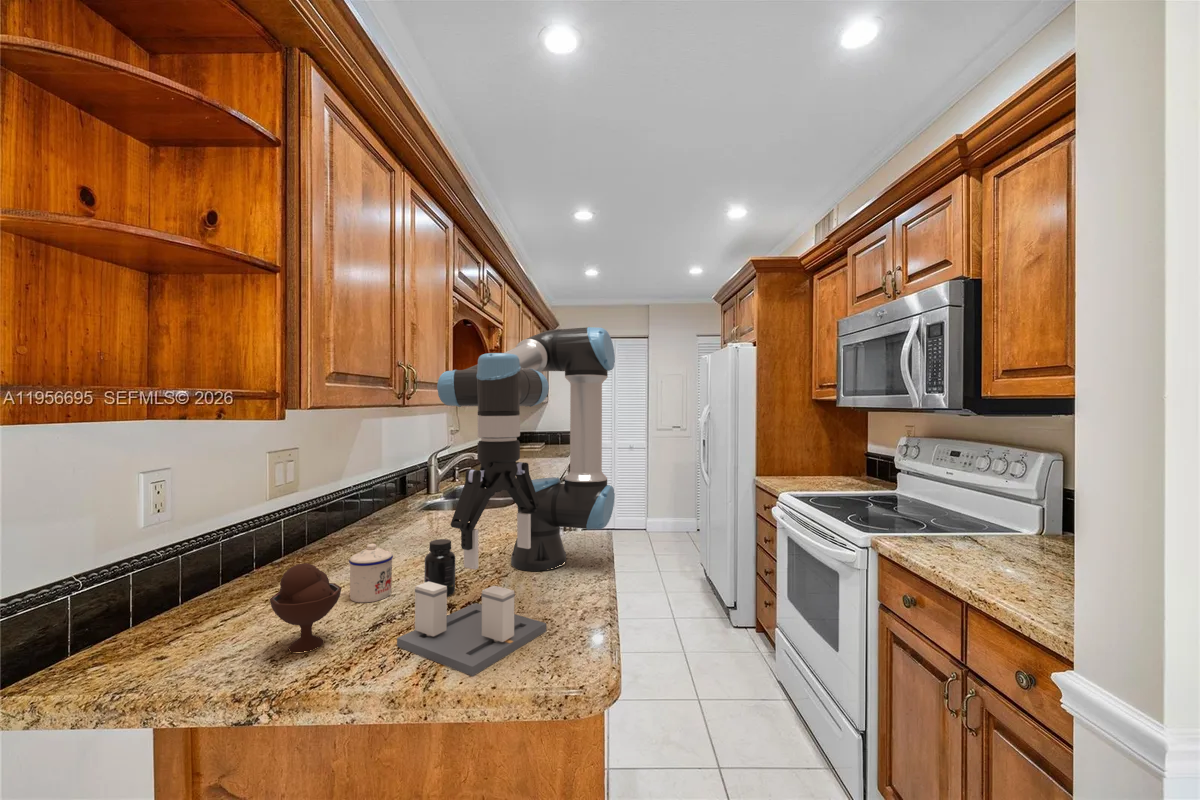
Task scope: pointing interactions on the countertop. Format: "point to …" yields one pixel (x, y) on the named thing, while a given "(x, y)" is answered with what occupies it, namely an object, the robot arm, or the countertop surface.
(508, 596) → the block
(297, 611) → the ice cream bowl
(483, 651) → the fader panel
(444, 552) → the supplement bottle
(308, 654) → the countertop surface
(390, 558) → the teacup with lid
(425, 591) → the block
